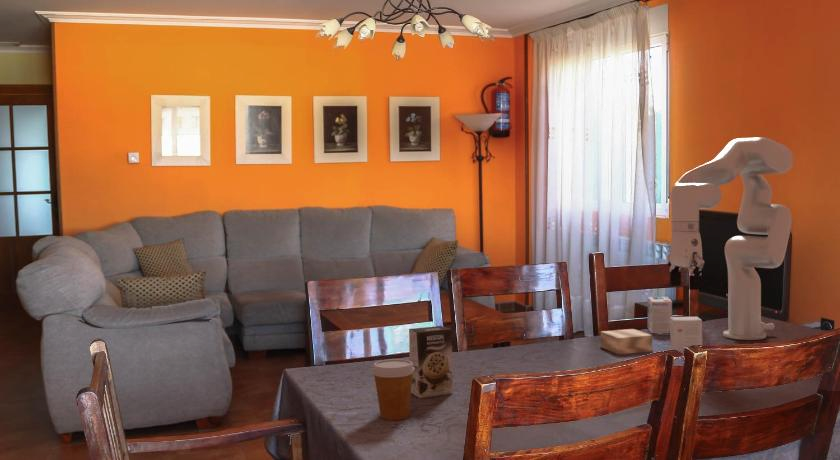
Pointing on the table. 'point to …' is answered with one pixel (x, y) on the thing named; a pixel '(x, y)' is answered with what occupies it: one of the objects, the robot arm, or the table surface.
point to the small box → (685, 332)
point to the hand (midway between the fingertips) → (684, 287)
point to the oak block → (626, 341)
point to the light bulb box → (659, 314)
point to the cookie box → (431, 361)
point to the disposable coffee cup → (393, 387)
